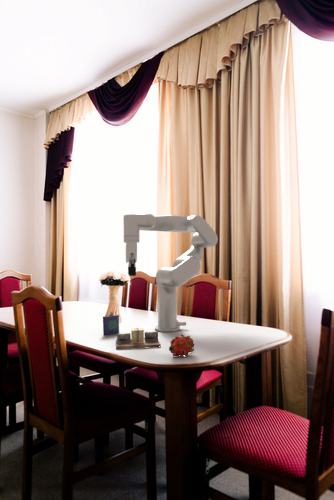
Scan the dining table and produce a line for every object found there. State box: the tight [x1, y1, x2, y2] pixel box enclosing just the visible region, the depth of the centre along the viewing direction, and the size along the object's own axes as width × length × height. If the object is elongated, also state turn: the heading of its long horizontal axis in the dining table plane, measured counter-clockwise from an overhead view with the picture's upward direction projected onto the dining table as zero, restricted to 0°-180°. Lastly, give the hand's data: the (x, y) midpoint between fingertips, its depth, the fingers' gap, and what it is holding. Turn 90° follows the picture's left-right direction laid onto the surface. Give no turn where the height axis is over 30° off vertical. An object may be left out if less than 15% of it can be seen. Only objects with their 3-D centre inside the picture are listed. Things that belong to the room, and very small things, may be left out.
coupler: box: [130, 327, 145, 343], centre depth 160 cm, size 5×4×5 cm
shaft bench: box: [115, 331, 161, 350], centre depth 160 cm, size 18×14×5 cm
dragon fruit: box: [168, 334, 195, 357], centre depth 141 cm, size 8×8×12 cm
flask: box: [102, 311, 120, 337], centre depth 181 cm, size 9×3×11 cm, turn 138°
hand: (131, 275), depth 180 cm, fingers open, 9 cm apart
